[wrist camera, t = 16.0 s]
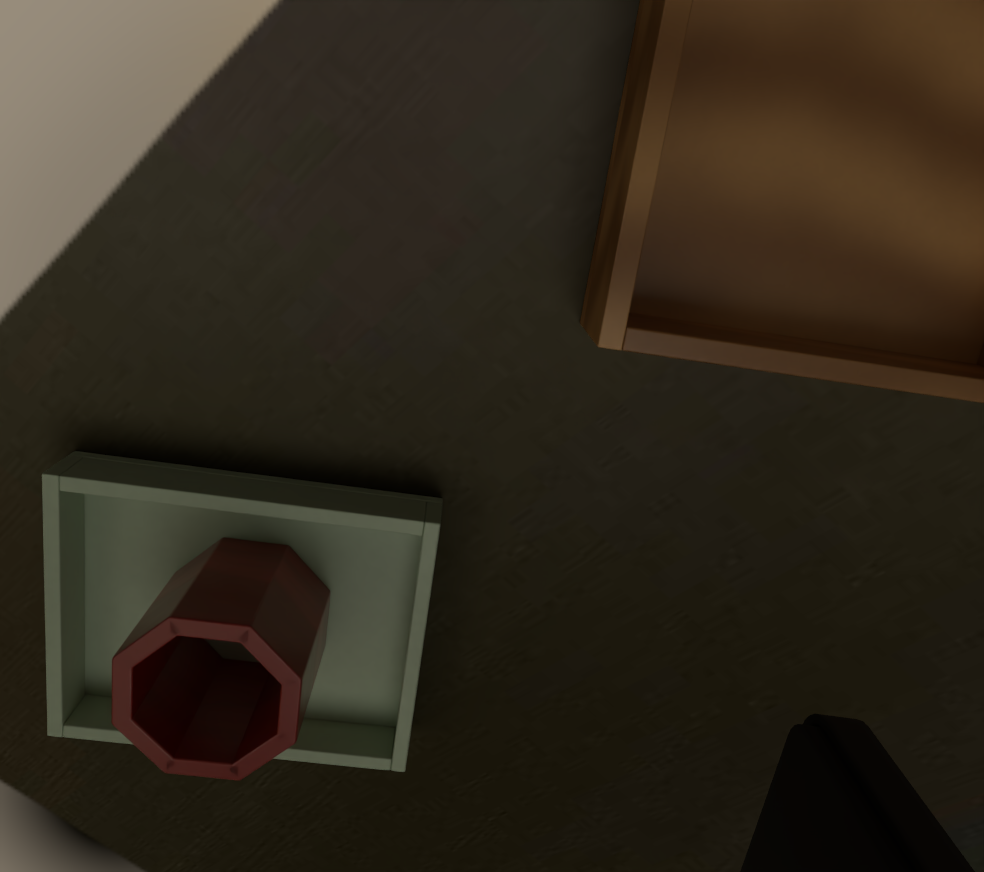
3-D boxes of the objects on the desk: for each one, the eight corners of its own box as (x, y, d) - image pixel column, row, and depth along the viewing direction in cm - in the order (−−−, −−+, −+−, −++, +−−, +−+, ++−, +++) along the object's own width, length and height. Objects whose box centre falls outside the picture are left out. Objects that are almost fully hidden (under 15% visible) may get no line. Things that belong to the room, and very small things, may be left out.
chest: (975, 382, 31) (1053, 413, 27) (579, 323, 30) (597, 347, 26) (1159, -149, 26) (1292, -211, 21) (685, -245, 24) (729, -330, 20)
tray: (76, 696, 34) (46, 736, 32) (74, 450, 31) (41, 473, 28) (409, 732, 35) (405, 772, 33) (442, 497, 32) (440, 523, 29)
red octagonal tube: (171, 666, 33) (110, 768, 27) (176, 530, 31) (111, 610, 25) (322, 682, 34) (292, 786, 28) (335, 550, 32) (306, 632, 26)
